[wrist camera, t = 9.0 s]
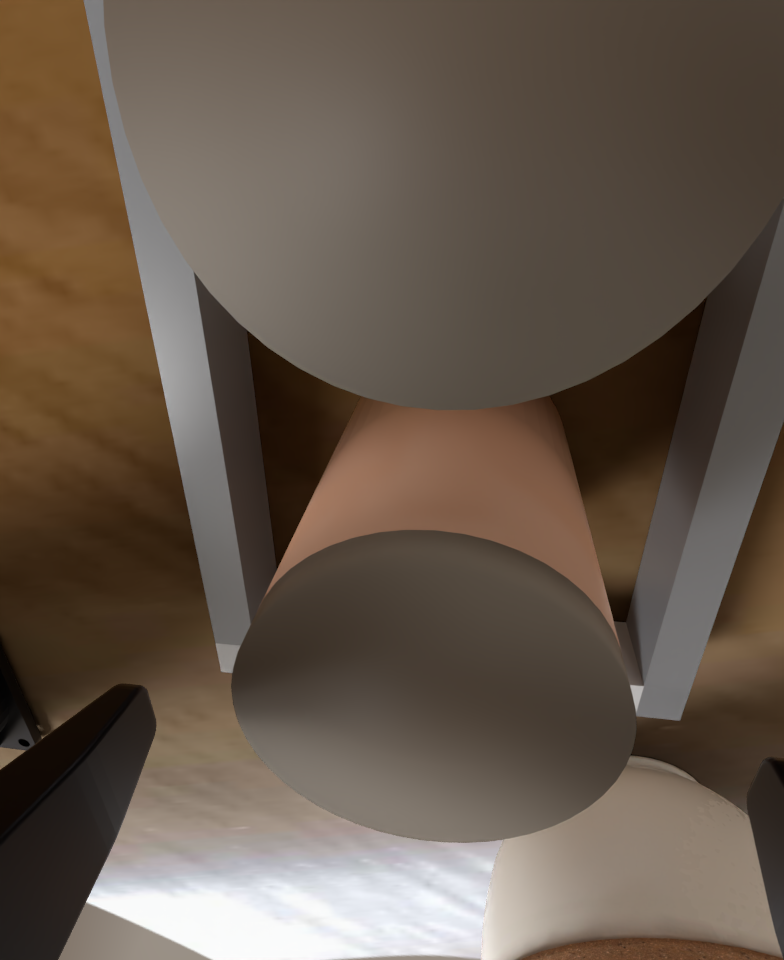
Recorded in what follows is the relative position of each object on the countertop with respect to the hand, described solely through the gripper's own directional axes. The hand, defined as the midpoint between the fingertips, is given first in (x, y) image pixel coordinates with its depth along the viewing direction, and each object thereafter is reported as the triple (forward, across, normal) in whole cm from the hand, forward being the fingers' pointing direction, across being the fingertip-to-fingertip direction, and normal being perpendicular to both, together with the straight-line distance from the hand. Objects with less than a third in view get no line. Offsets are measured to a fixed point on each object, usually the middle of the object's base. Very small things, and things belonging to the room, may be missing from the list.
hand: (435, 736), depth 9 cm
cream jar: (+9, 0, -8) cm, 12 cm away
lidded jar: (+9, -7, +15) cm, 19 cm away
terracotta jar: (+9, 0, 0) cm, 9 cm away
